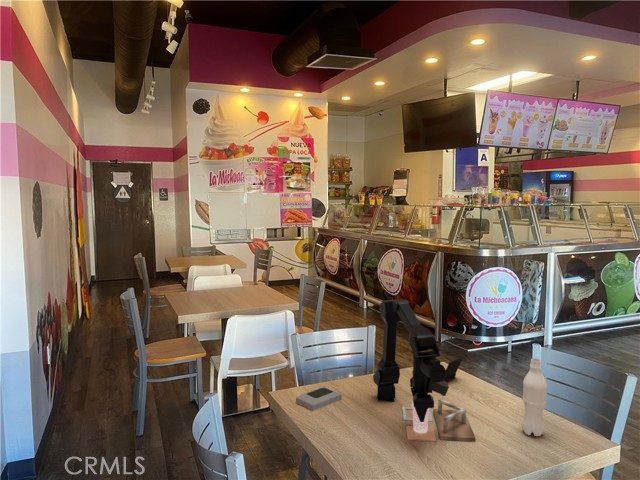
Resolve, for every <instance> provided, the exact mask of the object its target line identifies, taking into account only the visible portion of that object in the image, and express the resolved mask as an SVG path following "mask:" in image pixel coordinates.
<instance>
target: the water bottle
mask: <svg viewBox="0 0 640 480" xmlns="http://www.w3.org/2000/svg"><path fill="white" fill-rule="evenodd" d="M529 368H530V369H529V371H528V372H527V374H526V375H525V377H524V379H523V381H522V384H523V387H522V388H523V389H522V401H523V404H524V416H523V418H522V420H521V428H522V431H523V432H524V433H525V435H527V434H528V435H527V436H529V435H530V436H531V434H532V433H533V436H534V437H535V436H540V437H541V436H542V435H543V434H544V433H545V431H546V425H545V421H544V416H543V414H544V409H545V407H546V406H547V387H548V385H547V380H546V378H545V377H544V374H543V372H542V359H540V358H533V357H532V358H531V359H530V364H529ZM541 434H542V435H541Z"/></svg>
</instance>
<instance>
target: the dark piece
mask: <svg viewBox="0 0 640 480" xmlns="http://www.w3.org/2000/svg"><path fill="white" fill-rule="evenodd" d="M462 361H463V358H461V357H458V358H457V359H454V360H452V361H449V362H448V364H447V367H446V368H445V370H446V376H445V378H444V381H446V382H447V383H449V382H451V381H453V380H455V379H456V376H457V371H458V369H459V367H460V365H461V363H462Z"/></svg>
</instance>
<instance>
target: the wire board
mask: <svg viewBox="0 0 640 480" xmlns="http://www.w3.org/2000/svg"><path fill="white" fill-rule="evenodd" d="M443 406H446V407H448V408H451V409H443ZM432 413H433V417H434V420H435V424H436V428H437V429H436V430H437V432H438V433H437V434H438V436H439V439H440V440H441V441H453V442H454V441H455V442H456V441H457V442H470V441H471V442H472V441H475V442H476V440H477V439H476V436H475V433H474V431H473V429H472V426H471V423H470V421H469V419H468V416H467V409H466V408H464V407H462V406H458V405H457V404H455V403H452V402H449V401H446V400H443V399H441V398H439V399H438V400H437V408H432ZM475 442H474V443H475Z"/></svg>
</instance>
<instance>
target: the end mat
mask: <svg viewBox="0 0 640 480" xmlns="http://www.w3.org/2000/svg"><path fill="white" fill-rule="evenodd" d="M405 429H406V438H407V441H413V442H414V441H415V442H416V441H418V442H433V443H435V442H437V438H436V434H435V430H434V426H428V431H427V432H426V433H417V432H415V431H414V429H413V425H406V426H405Z"/></svg>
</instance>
